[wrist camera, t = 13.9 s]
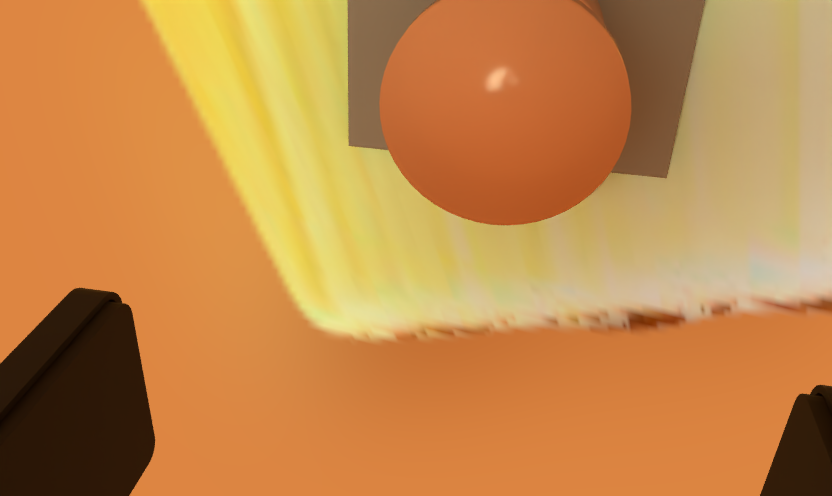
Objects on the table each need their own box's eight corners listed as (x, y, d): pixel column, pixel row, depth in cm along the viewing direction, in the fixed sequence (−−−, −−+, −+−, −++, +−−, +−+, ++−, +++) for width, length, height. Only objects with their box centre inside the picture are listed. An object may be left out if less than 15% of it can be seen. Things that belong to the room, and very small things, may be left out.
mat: (719, -87, 25) (723, -84, 25) (664, 171, 30) (666, 177, 29) (351, -109, 27) (346, -107, 26) (352, 139, 31) (348, 145, 31)
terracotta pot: (633, -55, 26) (653, -4, 20) (600, 141, 29) (608, 237, 23) (425, -69, 26) (381, -24, 20) (417, 123, 30) (377, 211, 24)
